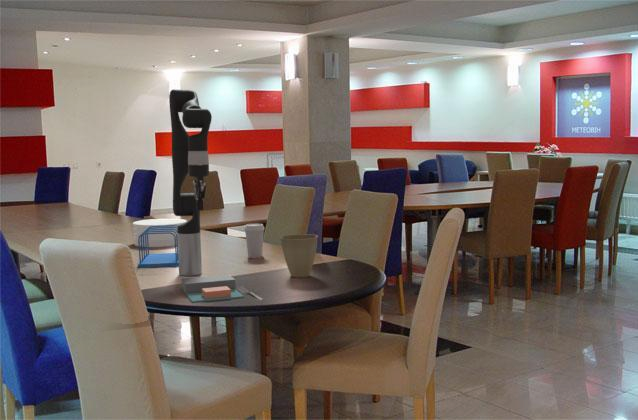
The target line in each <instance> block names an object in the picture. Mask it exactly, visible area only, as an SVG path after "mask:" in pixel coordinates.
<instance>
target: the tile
mask: <svg viewBox="0 0 638 420" xmlns="http://www.w3.org/2000/svg"><path fill="white" fill-rule="evenodd" d="M202 296H203V297H204V298H205V299H209V298H219V297H229V296H231V289H230V288H228V287H227V286H223V287H212V288H202Z"/></svg>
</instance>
